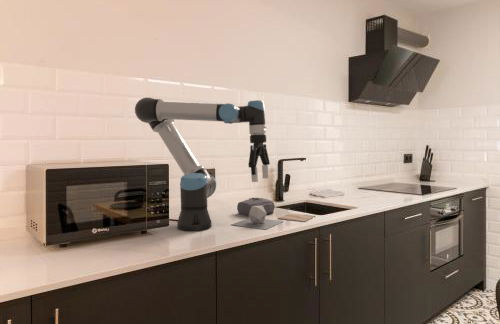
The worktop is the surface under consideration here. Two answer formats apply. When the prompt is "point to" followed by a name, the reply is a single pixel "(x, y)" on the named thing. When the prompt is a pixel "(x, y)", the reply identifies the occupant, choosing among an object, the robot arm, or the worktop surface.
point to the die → (257, 214)
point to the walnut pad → (296, 217)
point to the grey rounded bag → (246, 205)
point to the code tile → (265, 225)
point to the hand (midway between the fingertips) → (260, 180)
